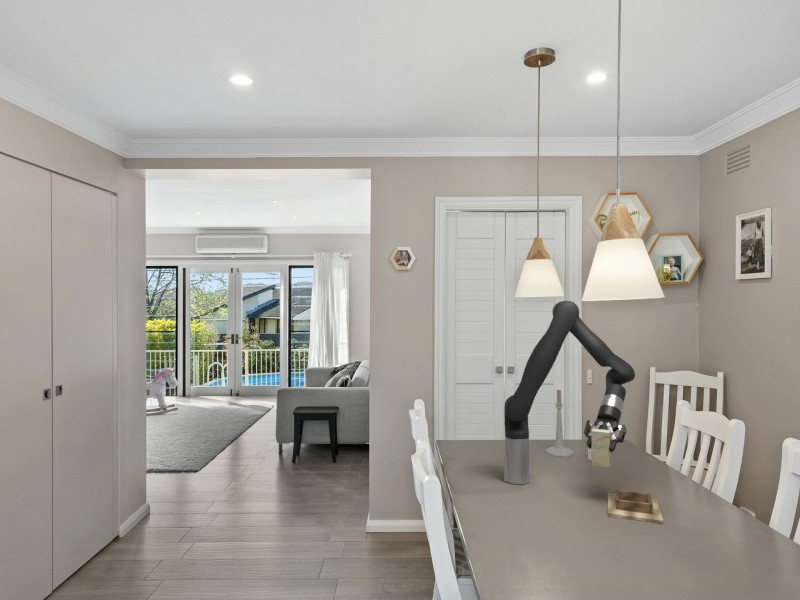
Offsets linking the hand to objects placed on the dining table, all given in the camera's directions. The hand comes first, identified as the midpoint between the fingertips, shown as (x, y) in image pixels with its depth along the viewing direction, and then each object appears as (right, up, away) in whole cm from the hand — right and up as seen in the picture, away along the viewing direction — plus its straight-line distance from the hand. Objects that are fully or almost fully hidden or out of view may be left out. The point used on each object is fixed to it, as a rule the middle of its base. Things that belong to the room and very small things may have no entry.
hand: (599, 449), depth 177 cm
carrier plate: (+9, -18, -6) cm, 21 cm away
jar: (+19, -20, +50) cm, 58 cm away
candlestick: (+6, -20, +62) cm, 66 cm away
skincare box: (+1, -6, +1) cm, 6 cm away
